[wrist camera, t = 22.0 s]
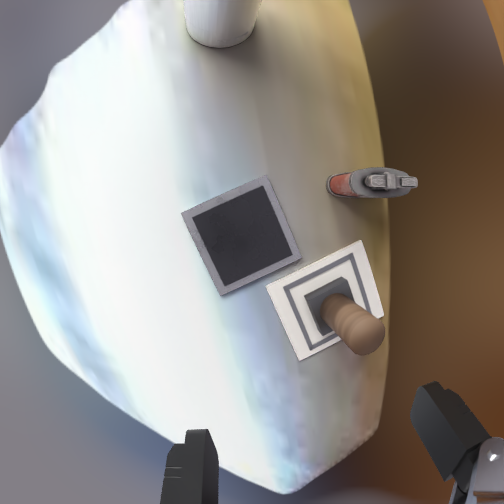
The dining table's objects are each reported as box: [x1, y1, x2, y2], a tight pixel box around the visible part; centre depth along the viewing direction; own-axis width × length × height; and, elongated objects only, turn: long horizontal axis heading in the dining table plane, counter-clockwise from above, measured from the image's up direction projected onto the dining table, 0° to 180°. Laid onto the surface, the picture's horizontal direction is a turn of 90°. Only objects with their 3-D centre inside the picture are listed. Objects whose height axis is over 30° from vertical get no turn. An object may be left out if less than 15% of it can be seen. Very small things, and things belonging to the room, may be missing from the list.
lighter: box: [326, 167, 417, 198], centre depth 33 cm, size 8×3×10 cm, turn 93°
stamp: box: [304, 277, 385, 355], centre depth 34 cm, size 6×6×11 cm
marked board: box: [265, 240, 384, 361], centre depth 39 cm, size 12×14×1 cm
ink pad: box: [181, 175, 302, 296], centre depth 36 cm, size 11×11×1 cm
